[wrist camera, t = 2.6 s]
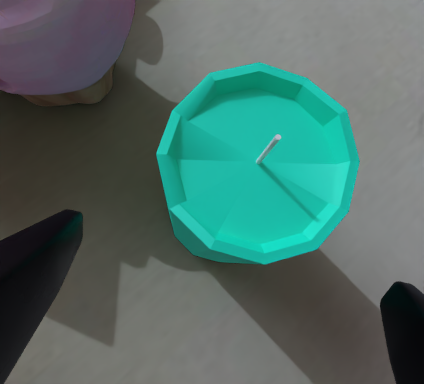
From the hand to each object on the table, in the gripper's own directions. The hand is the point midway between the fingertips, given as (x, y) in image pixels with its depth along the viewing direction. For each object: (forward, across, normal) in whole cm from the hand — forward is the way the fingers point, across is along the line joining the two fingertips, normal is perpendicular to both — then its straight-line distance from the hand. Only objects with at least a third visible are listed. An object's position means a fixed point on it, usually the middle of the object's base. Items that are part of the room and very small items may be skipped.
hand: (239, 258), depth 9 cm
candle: (+9, 0, +5) cm, 11 cm away
